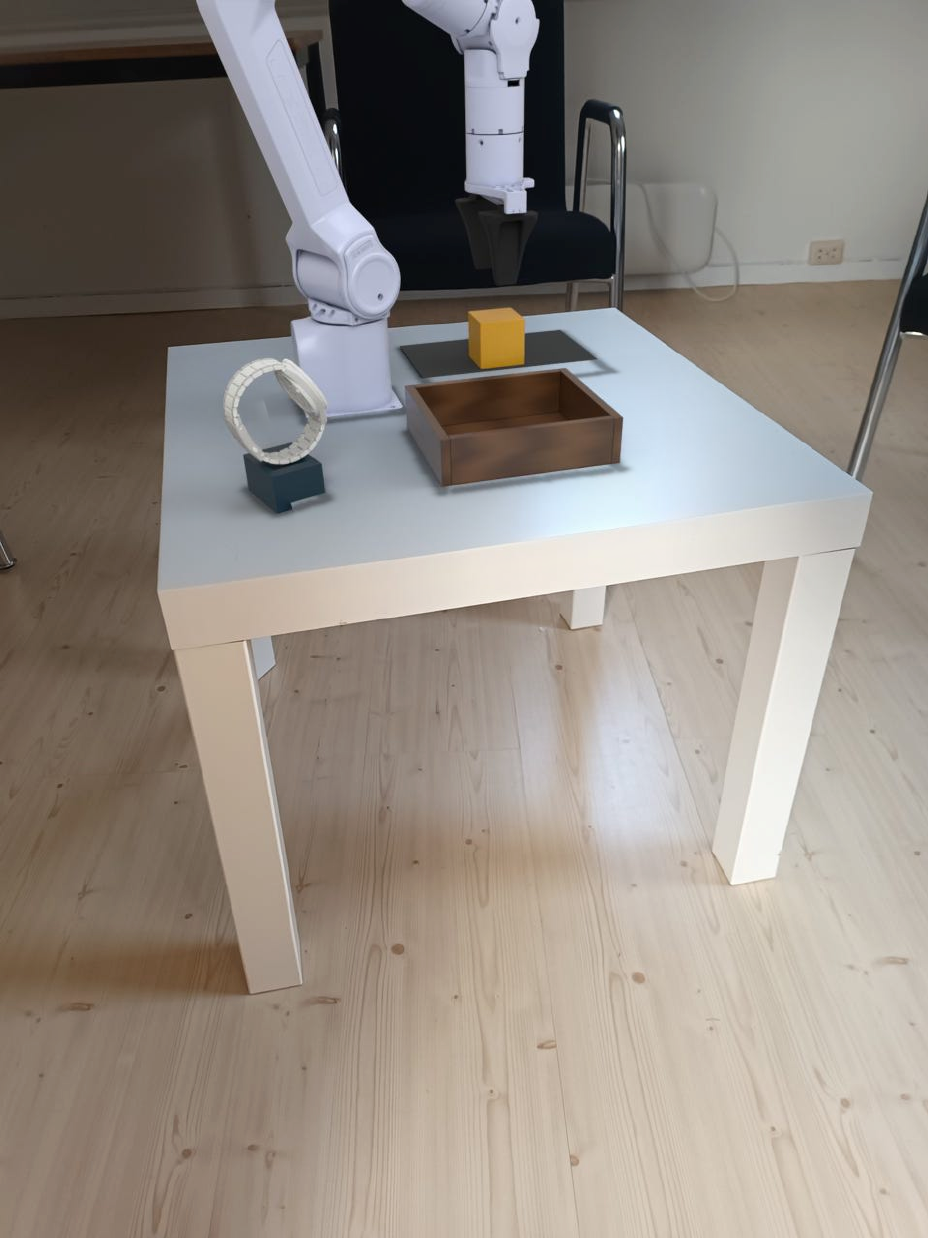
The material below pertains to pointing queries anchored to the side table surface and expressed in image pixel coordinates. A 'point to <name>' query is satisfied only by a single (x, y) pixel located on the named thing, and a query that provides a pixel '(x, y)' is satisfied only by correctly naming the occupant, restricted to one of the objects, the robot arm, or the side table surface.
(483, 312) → the cube
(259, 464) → the watch
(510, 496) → the side table surface
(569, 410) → the box
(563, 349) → the mat
